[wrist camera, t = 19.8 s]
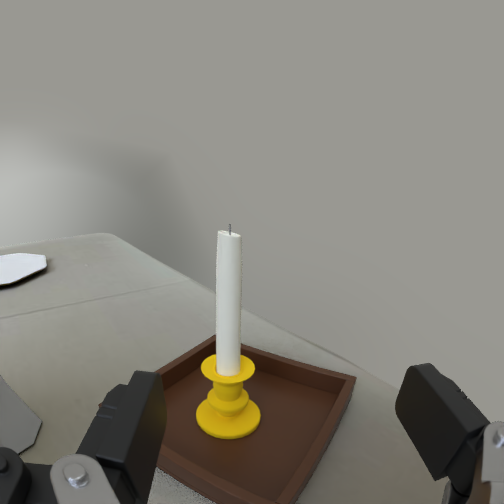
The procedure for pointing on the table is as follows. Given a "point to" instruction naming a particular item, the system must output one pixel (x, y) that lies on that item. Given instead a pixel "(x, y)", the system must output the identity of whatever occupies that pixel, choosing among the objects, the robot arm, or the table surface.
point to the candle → (228, 352)
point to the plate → (20, 267)
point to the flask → (16, 420)
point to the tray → (260, 440)
